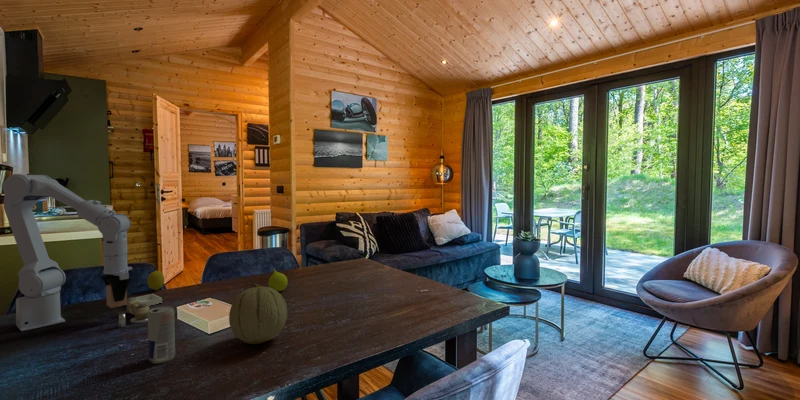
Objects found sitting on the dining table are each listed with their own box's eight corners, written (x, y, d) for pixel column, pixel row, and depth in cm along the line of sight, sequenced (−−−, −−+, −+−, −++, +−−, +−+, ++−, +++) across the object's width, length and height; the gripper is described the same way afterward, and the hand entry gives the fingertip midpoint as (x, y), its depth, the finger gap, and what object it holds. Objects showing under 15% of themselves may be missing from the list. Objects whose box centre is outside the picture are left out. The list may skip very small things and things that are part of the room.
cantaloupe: (252, 359, 91) (252, 297, 90) (216, 344, 98) (215, 287, 98) (299, 337, 103) (299, 283, 103) (264, 326, 111) (263, 276, 110)
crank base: (120, 328, 109) (120, 315, 109) (113, 323, 113) (113, 311, 112) (157, 319, 117) (157, 307, 116) (149, 314, 120) (149, 303, 120)
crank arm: (151, 316, 116) (151, 303, 116) (137, 319, 113) (137, 306, 113) (136, 308, 124) (136, 296, 123) (123, 311, 121) (123, 299, 121)
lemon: (167, 288, 149) (167, 268, 149) (157, 293, 144) (157, 272, 143) (154, 288, 150) (154, 268, 149) (144, 292, 144) (143, 271, 144)
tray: (135, 309, 125) (135, 303, 125) (126, 304, 130) (126, 299, 130) (162, 303, 131) (162, 297, 131) (153, 299, 136) (152, 293, 136)
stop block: (111, 307, 112) (110, 287, 112) (106, 305, 114) (106, 285, 114) (127, 304, 115) (126, 285, 115) (122, 301, 118) (122, 282, 117)
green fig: (268, 289, 150) (268, 264, 149) (287, 288, 152) (287, 263, 151) (268, 294, 143) (268, 268, 142) (287, 293, 145) (287, 267, 145)
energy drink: (156, 354, 93) (155, 305, 92) (179, 353, 93) (178, 305, 93) (143, 364, 88) (142, 313, 87) (167, 363, 88) (166, 312, 87)
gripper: (140, 255, 113) (140, 300, 113) (122, 250, 122) (123, 292, 122) (111, 259, 107) (112, 306, 108) (95, 253, 116) (96, 297, 117)
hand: (116, 299), depth 115 cm, fingers closed on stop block, 4 cm apart
